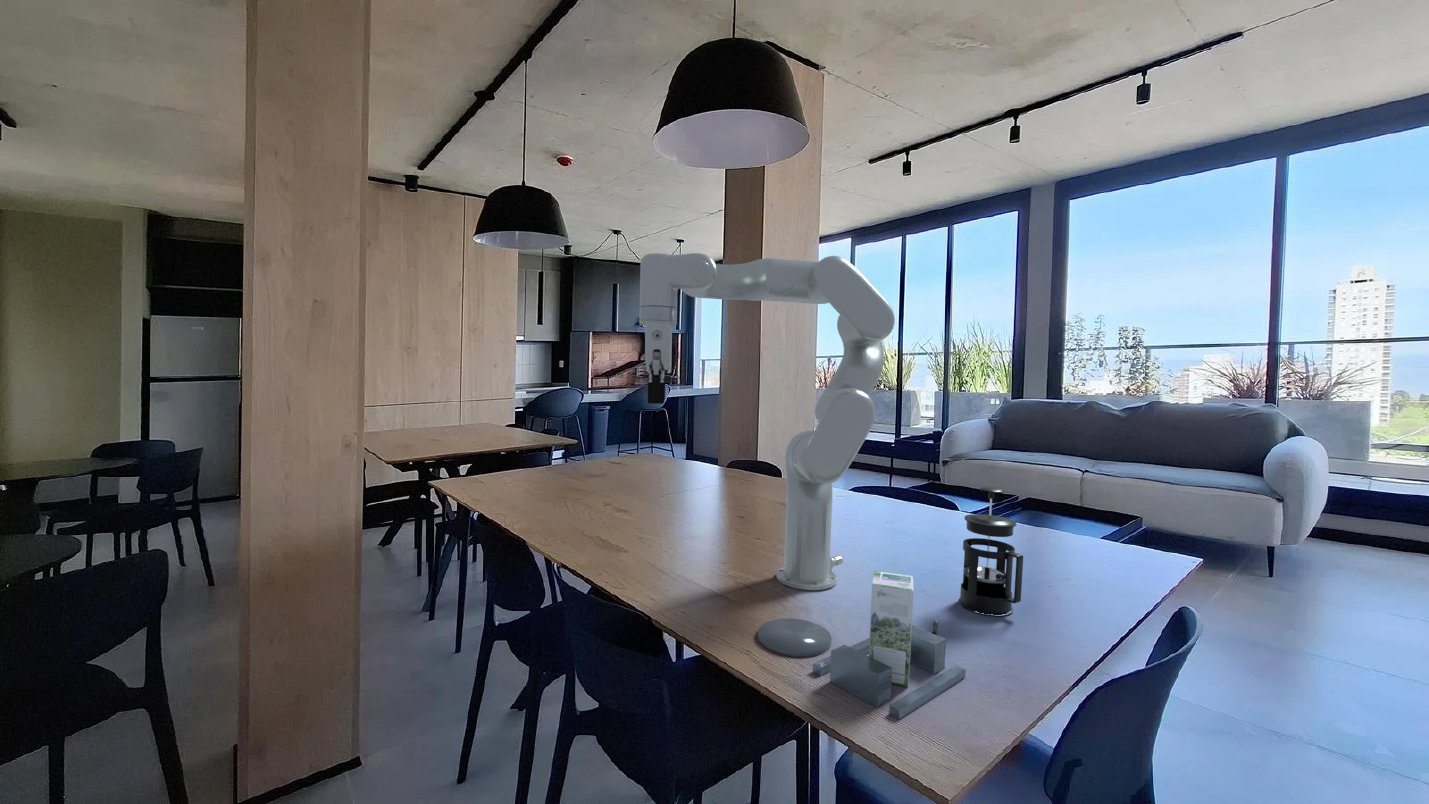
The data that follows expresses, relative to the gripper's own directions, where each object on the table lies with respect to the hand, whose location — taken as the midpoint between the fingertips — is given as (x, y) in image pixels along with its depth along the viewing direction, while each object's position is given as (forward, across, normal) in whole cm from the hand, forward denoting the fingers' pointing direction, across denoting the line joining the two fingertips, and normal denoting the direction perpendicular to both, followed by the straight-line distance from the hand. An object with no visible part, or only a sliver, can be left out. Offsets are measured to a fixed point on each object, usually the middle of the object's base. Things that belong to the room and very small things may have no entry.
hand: (656, 402), depth 117 cm
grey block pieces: (+37, -36, -37) cm, 64 cm away
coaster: (+37, -26, -24) cm, 51 cm away
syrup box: (+37, -37, -36) cm, 64 cm away
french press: (+37, -14, -64) cm, 76 cm away
